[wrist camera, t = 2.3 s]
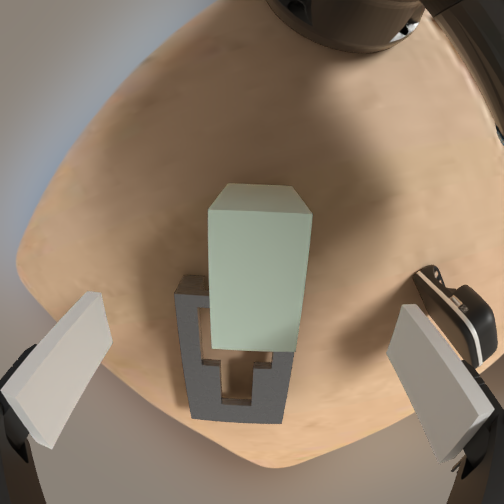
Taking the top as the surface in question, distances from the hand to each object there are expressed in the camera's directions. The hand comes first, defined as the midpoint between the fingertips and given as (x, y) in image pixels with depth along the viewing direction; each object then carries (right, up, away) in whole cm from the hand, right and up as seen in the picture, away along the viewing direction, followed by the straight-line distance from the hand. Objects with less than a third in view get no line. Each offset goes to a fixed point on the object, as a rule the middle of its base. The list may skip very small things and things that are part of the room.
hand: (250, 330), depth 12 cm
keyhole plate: (-1, -8, +20) cm, 21 cm away
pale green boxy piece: (+1, +6, +15) cm, 16 cm away
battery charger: (+20, -1, +17) cm, 26 cm away
